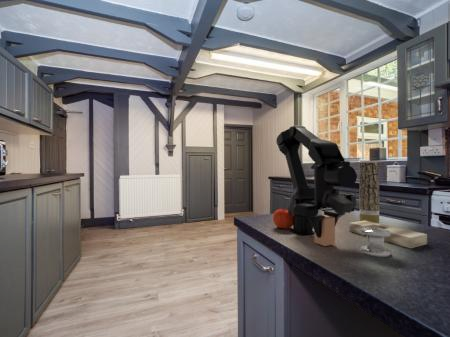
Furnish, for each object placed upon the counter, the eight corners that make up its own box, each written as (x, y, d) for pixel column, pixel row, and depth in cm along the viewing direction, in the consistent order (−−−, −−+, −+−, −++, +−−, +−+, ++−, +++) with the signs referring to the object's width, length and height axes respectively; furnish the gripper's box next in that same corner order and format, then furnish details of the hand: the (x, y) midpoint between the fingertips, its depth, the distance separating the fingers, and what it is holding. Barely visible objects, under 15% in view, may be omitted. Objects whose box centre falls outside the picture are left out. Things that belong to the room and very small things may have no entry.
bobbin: (354, 250, 69) (354, 228, 68) (371, 246, 71) (371, 226, 71) (379, 259, 62) (379, 235, 62) (397, 254, 65) (397, 232, 65)
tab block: (314, 242, 75) (314, 216, 75) (324, 240, 77) (324, 214, 77) (324, 246, 71) (324, 218, 71) (334, 244, 73) (334, 217, 73)
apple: (268, 227, 94) (268, 206, 94) (282, 224, 99) (282, 204, 99) (285, 232, 88) (285, 209, 88) (299, 228, 93) (299, 207, 93)
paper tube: (382, 226, 94) (382, 160, 94) (362, 225, 96) (362, 161, 95) (375, 222, 101) (375, 161, 100) (357, 221, 102) (357, 161, 102)
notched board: (349, 231, 88) (349, 222, 88) (364, 228, 91) (364, 220, 91) (410, 248, 70) (410, 237, 70) (427, 244, 73) (427, 234, 73)
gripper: (321, 188, 63) (321, 249, 63) (370, 185, 70) (370, 239, 70) (292, 185, 73) (292, 237, 73) (338, 182, 80) (338, 230, 81)
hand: (324, 236), depth 74 cm, fingers closed on tab block, 4 cm apart
